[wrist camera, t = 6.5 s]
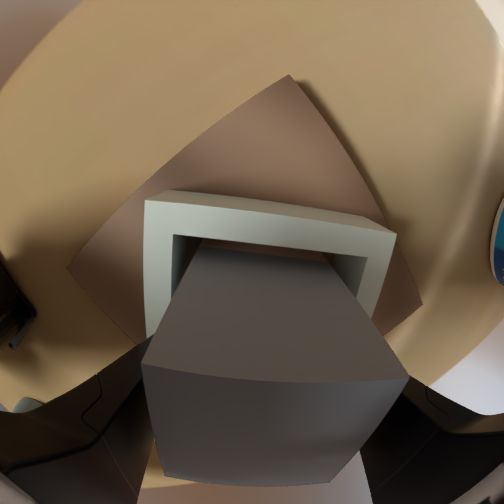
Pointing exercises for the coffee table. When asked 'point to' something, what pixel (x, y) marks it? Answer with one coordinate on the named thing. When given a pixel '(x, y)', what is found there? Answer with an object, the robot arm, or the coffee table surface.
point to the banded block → (265, 369)
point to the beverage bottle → (498, 245)
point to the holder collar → (257, 241)
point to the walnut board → (246, 186)
